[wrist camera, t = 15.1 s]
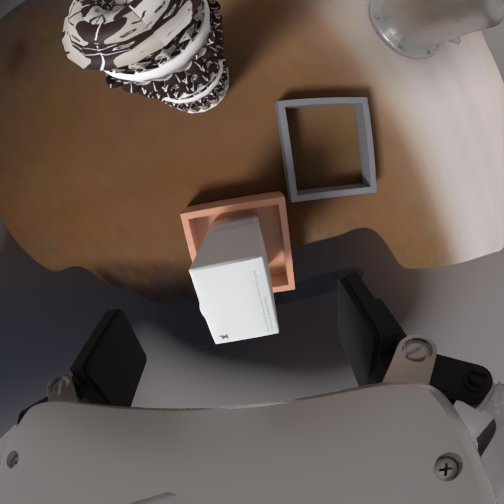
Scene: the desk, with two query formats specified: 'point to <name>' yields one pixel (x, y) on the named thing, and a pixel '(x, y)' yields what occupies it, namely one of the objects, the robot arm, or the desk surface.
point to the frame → (363, 139)
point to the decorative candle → (152, 48)
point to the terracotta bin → (271, 224)
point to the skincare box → (235, 280)
